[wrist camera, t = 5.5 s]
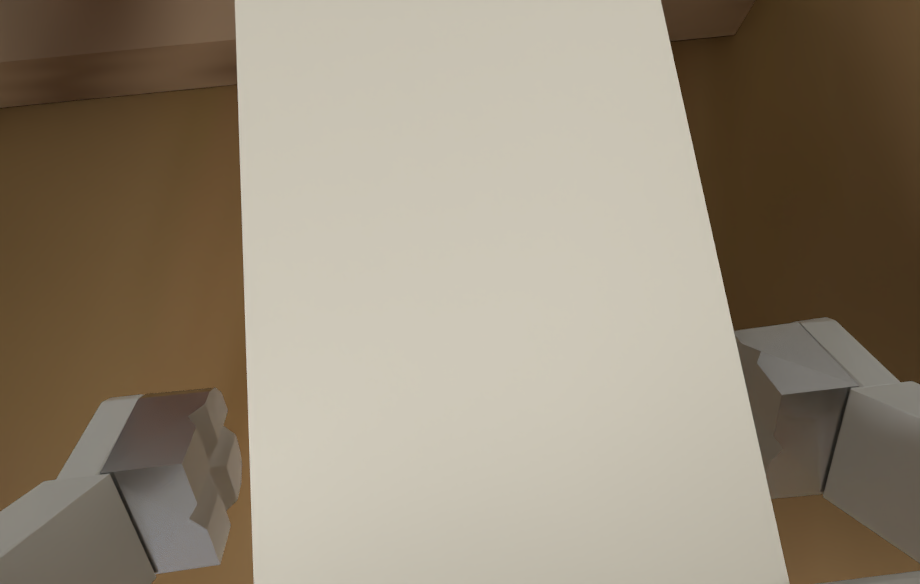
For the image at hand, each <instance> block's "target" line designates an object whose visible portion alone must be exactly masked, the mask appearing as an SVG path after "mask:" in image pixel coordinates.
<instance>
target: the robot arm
mask: <svg viewBox="0 0 920 584" xmlns="http://www.w3.org/2000/svg"><path fill="white" fill-rule="evenodd" d="M734 334H735V339H736V343H737V348H738V352H739V357H740V361H741V366H742V371H743V375H744V380H745V384H746V389H747V393H748V398H749V402H750V407H751V411H752V416H753V420H754V425H755V429H756V434H757V438H758V443H759V447H760V452H761V457H762V461H763V466H764V470H765V475H766V479H767V484H768V488H769V493H770V497H771V499H775V498H786V497H797V496H808V495H819V494H823V497H824V498H825V499H826V500H828V501H829V502H831V503H832V504H834V505H835V506H837V507H838V508H840V509H841V510H843V511H844V512H846V513H847V514H848V515H850V516H851V517H853V518H854V519H856V520H857V521H859V522H860V523H862V524H863V525H865V526H866V527H867V528H869V529H870V530H872V531H873V532H875V533H876V534H878V535H879V536H881V537H882V538H884V539H885V540H886V541H888V542H889V543H891V544H892V545H894V546H895V547H897V548H898V549H900V550H901V551H903V552H904V553H906V554H907V555H908V556H910V557H911V558H913V559H914V560H916V561H917V562H919V563H920V384H918V383H915V382H913V381H908V382H900V381H899V380H898V379H897V378H896V377H894V376H893V375H892V374H891V373H890V372H889V371H888V370H887V369H886V368H885V367H884V366H883V365H882V364H881V363H880V362H879V361H878V360H877V359H876V358H875V357H873V356H872V355H871V354H870V353H869V352H868V351H867V350H866V349H865V348H864V347H863V346H862V345H861V344H860V343H859V342H858V341H857V340H856V339H855V338H854V337H852V336H851V335H850V334H849V333H848V332H847V331H846V330H845V329H844V328H843V327H842V326H841V325H840V324H839V323H838V322H837V321H836V320H833V319H830V318H827V317H823V318H816V319H809V320H802V321H795V322H792V323H787V324H779V325H771V326H763V327H755V328H746V329H738V330H734ZM227 412H228V409H227V407H226V404H225V401H224V398H223V395H222V393H221V392H220V391H219V390H218V389H216V388H205V389H194V390H183V391H172V392H161V393H150V394H145V395H141V394H139V395H130V396H122V397H113V398H109V399H107V400H105V401H103V402H102V403H101V404H100V406H99V407H98V409H97V411H96V413H95V414H94V416H93V418H92V419H91V421H90V423H89V424H88V426H87V428H86V429H85V431H84V433H83V435H82V436H81V438H80V440H79V441H78V443H77V445H76V446H75V448H74V450H73V451H72V453H71V455H70V456H69V458H68V460H67V462H66V463H65V465H64V467H63V468H62V470H61V472H60V473H59V475H58V477H57V478H56V480H50V481H44V482H42V483H41V484H39V485H38V486H36V487H35V488H34V489H32V490H31V491H29V492H28V493H26V494H25V495H23V496H22V497H21V498H19V499H18V500H16V501H15V502H13V503H12V504H10V505H9V506H8V507H6V508H5V509H3V510H2V511H0V584H151V583H152V582H153V581H154V580H155V579H156V575H155V574H159V573H166V572H173V571H180V570H187V569H193V568H200V567H207V566H214V565H220V563H221V559H222V556H223V552H224V548H225V545H226V541H227V537H228V534H229V530H230V526H231V524H230V521H229V518H228V515H227V512H226V510H227V509H228V508H229V507H231V506H232V505H233V504H234V503H235V502H236V501H237V500H238V495H239V491H240V487H241V477H242V461H241V454H240V448H239V444H238V441H237V438H236V435H235V434H234V433H233V432H231V431H230V430H229V429H227V428H226V427H224V426H223V425H224V421H225V418H226V415H227ZM817 584H920V571H913V572H905V573H897V574H889V575H881V576H873V577H865V578H857V579H849V580H841V581H833V582H825V583H817Z"/></svg>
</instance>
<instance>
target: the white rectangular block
mask: <svg viewBox="0 0 920 584" xmlns="http://www.w3.org/2000/svg"><path fill="white" fill-rule="evenodd" d="M235 24H236V54H237V85H238V116H239V146H240V177H241V207H242V238H243V269H244V299H245V330H246V361H247V391H248V422H249V453H250V483H251V514H252V544H253V575H254V584H790V583H789V579H788V574H787V570H786V565H785V561H784V556H783V552H782V547H781V543H780V538H779V533H778V529H777V524H776V520H775V515H774V511H773V506H772V502H771V497H770V493H769V488H768V484H767V479H766V475H765V470H764V466H763V461H762V457H761V452H760V447H759V443H758V438H757V434H756V429H755V425H754V420H753V416H752V411H751V407H750V402H749V398H748V393H747V389H746V384H745V380H744V375H743V371H742V366H741V361H740V357H739V352H738V348H737V343H736V339H735V334H734V330H733V325H732V321H731V316H730V312H729V307H728V303H727V298H726V294H725V289H724V285H723V280H722V275H721V271H720V266H719V262H718V257H717V253H716V248H715V244H714V239H713V235H712V230H711V226H710V221H709V217H708V212H707V208H706V203H705V199H704V194H703V189H702V185H701V180H700V176H699V171H698V167H697V162H696V158H695V153H694V149H693V144H692V140H691V135H690V131H689V126H688V122H687V117H686V112H685V108H684V103H683V99H682V94H681V90H680V85H679V81H678V76H677V72H676V67H675V63H674V58H673V54H672V49H671V45H670V40H669V36H668V31H667V26H666V22H665V17H664V13H663V8H662V4H661V0H235Z"/></svg>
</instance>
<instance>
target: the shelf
mask: <svg viewBox="0 0 920 584" xmlns="http://www.w3.org/2000/svg"><path fill="white" fill-rule="evenodd" d="M755 1H756V0H661V4H662V8H663V13H664V17H665V22H666V26H667V31H668V36H669V40H670V41H678V40H688V39H698V38H708V37H718V36H729V35H735V33H736V32H737V30H738V28H739V27H740V25H741V24H742V22H743V20H744V19H745V17H746V15H747V14H748V12H749V11H750V9H751V7H752V6H753V4H754V3H755ZM235 84H237V54H236V24H235V0H0V108H4V107H14V106H24V105H34V104H44V103H54V102H64V101H74V100H84V99H94V98H104V97H114V96H124V95H135V94H145V93H155V92H165V91H175V90H185V89H195V88H205V87H215V86H225V85H235Z"/></svg>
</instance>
